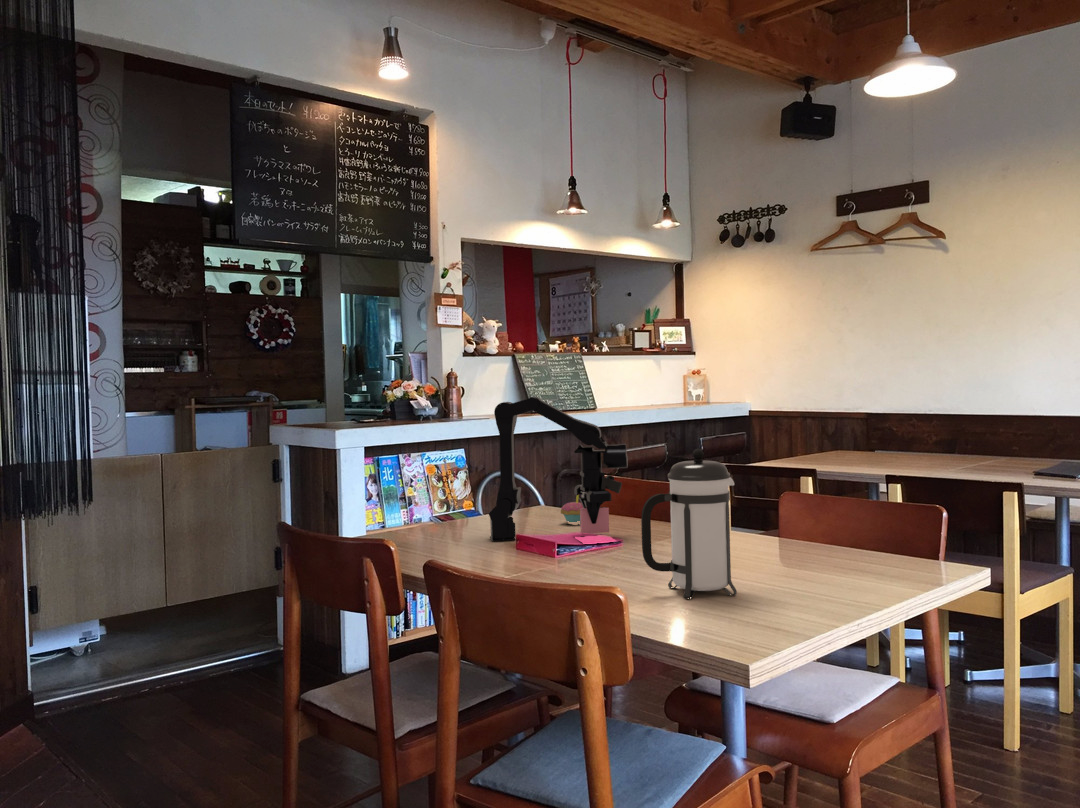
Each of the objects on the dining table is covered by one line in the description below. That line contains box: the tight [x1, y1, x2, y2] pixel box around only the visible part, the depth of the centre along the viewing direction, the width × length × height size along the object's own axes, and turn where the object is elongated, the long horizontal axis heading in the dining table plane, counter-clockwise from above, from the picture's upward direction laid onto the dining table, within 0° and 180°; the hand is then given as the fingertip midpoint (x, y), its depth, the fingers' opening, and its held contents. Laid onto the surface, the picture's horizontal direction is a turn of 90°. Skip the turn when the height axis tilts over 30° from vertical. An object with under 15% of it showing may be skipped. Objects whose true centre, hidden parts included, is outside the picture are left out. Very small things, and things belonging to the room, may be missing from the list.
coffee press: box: [640, 448, 738, 600], centre depth 176 cm, size 17×16×30 cm
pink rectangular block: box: [579, 506, 610, 534], centre depth 241 cm, size 8×2×7 cm, turn 102°
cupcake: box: [560, 494, 583, 522], centre depth 267 cm, size 9×8×12 cm
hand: (593, 523), depth 241 cm, fingers closed on pink rectangular block, 2 cm apart
